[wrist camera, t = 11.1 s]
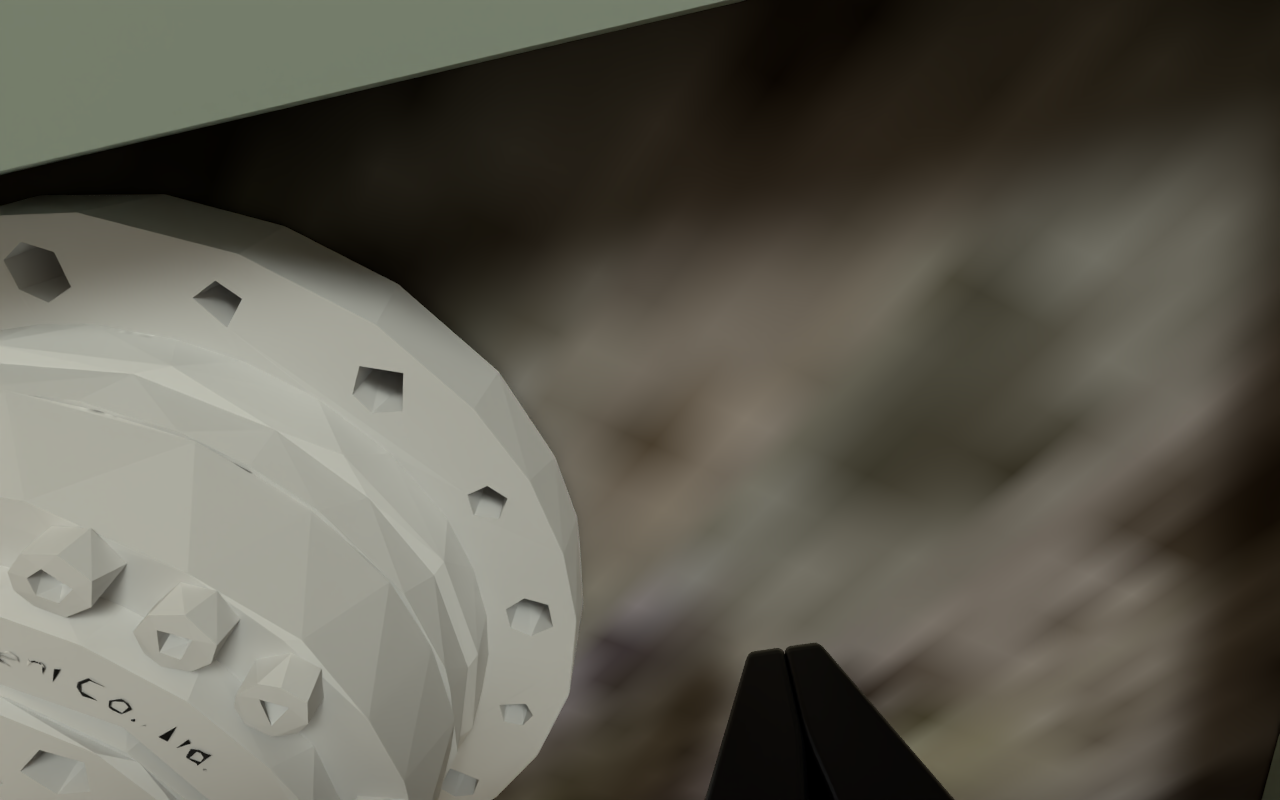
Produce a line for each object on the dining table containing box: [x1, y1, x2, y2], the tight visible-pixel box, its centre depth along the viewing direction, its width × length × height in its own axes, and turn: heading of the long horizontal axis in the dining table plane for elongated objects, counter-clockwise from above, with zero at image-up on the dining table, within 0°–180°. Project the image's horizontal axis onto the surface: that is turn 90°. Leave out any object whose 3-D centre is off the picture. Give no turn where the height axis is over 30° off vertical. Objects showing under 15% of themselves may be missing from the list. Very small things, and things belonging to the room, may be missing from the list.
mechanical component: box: [0, 194, 583, 800], centre depth 8 cm, size 10×4×10 cm
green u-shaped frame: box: [0, 0, 1280, 800], centre depth 9 cm, size 20×16×2 cm
